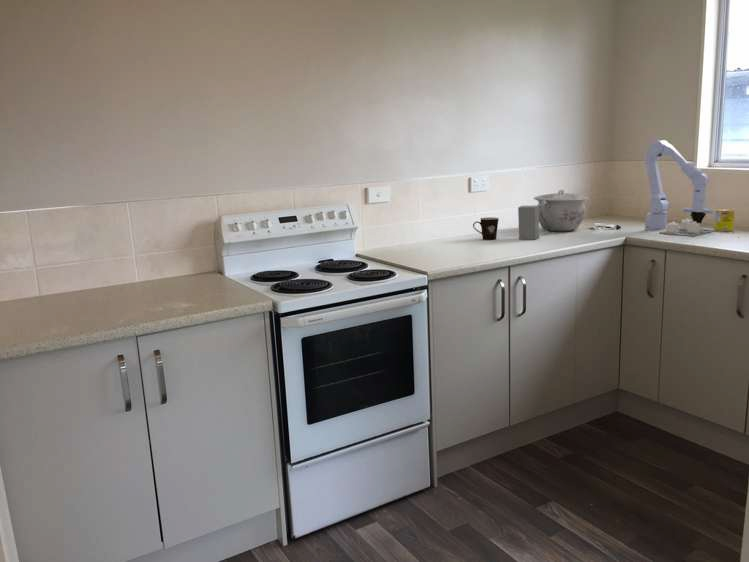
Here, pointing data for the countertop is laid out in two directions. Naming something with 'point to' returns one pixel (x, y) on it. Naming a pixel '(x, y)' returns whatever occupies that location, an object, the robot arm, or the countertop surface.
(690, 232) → the switch board
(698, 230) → the beige block
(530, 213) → the skincare box
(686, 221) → the tab
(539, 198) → the chamber pot
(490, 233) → the coffee mug
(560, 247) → the countertop surface
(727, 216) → the supplement box
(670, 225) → the tab
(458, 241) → the countertop surface
